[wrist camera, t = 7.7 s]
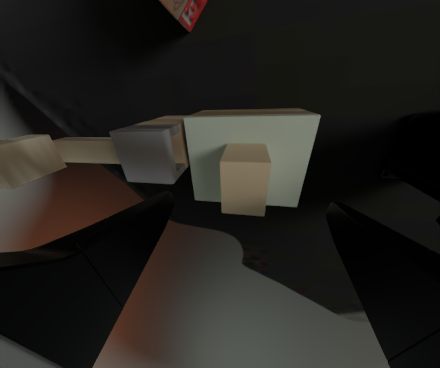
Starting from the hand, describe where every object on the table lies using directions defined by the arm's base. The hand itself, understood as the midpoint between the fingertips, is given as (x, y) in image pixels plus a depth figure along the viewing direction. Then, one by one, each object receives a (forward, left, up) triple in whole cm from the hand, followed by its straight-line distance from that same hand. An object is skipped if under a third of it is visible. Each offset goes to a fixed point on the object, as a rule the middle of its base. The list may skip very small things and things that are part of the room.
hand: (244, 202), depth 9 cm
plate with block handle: (0, 0, -6) cm, 6 cm away
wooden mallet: (+2, +14, -5) cm, 15 cm away
